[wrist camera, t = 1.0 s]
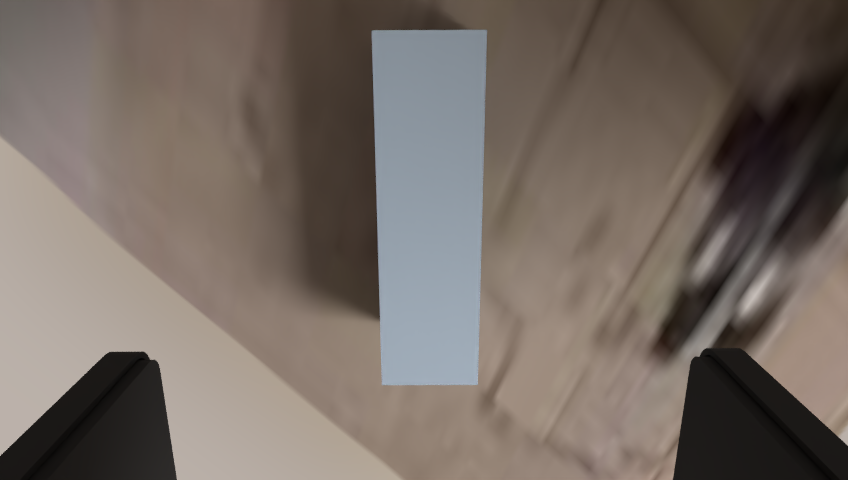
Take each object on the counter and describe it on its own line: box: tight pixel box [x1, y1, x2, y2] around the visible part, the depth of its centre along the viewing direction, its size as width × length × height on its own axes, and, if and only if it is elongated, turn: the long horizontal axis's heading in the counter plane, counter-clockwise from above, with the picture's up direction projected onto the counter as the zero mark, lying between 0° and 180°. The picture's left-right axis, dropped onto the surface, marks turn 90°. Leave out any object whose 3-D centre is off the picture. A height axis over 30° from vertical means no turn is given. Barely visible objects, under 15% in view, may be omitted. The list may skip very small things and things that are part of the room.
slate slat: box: [372, 30, 487, 385], centre depth 26 cm, size 4×14×6 cm, turn 0°
